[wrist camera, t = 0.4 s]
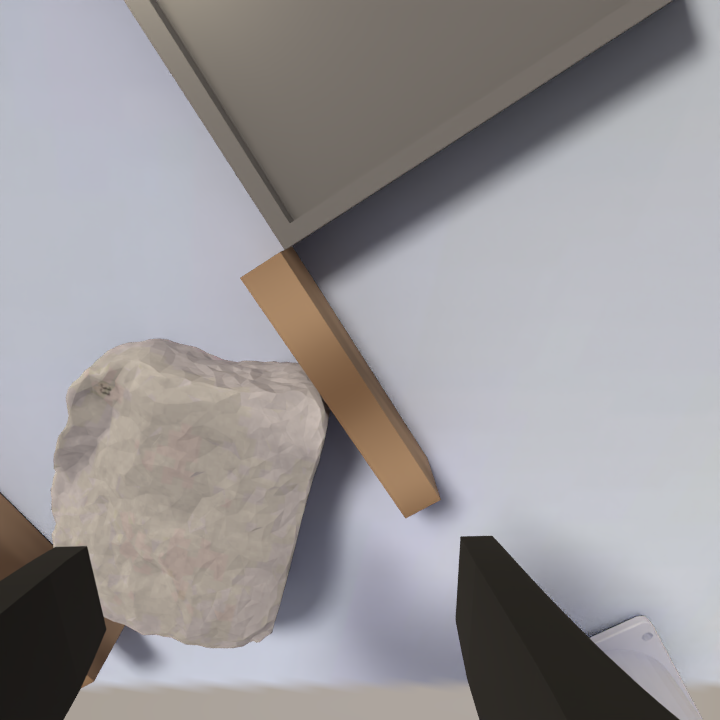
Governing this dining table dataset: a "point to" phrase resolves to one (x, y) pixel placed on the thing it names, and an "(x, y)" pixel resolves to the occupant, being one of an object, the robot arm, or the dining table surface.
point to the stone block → (187, 487)
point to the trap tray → (361, 83)
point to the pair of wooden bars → (332, 380)
